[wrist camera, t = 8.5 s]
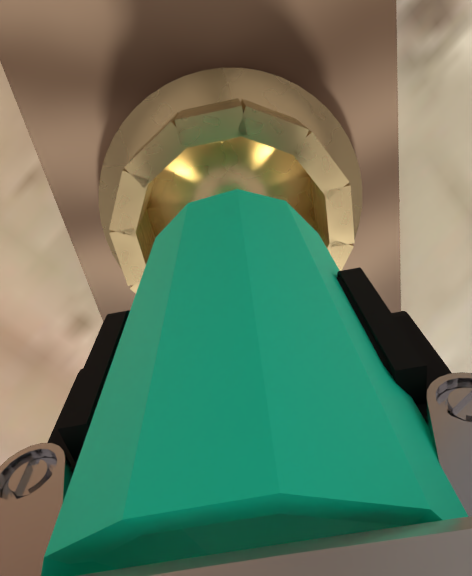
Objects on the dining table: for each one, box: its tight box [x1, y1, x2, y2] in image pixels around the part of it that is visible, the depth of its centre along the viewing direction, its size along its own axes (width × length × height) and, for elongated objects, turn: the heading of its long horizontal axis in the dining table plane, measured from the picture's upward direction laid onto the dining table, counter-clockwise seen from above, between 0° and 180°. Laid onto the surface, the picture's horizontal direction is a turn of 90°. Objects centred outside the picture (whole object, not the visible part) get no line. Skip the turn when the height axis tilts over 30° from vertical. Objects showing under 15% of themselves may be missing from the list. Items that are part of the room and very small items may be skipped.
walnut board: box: [0, 0, 401, 322], centre depth 22 cm, size 20×16×2 cm
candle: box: [41, 189, 468, 576], centre depth 9 cm, size 6×6×12 cm
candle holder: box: [99, 67, 362, 294], centre depth 19 cm, size 12×12×4 cm
